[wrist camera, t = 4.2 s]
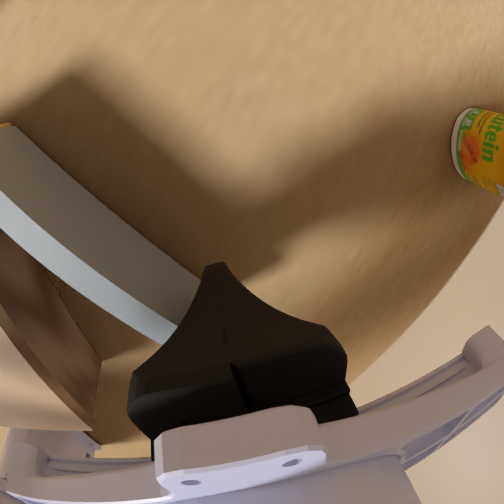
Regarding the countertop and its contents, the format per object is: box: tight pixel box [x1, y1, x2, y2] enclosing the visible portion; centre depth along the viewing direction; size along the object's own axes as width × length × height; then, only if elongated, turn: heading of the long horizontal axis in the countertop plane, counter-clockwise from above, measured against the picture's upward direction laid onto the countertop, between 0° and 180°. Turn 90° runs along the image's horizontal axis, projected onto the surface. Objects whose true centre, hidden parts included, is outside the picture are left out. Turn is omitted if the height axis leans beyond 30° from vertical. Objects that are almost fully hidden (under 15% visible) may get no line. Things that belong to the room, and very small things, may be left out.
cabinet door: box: [0, 123, 201, 345], centre depth 10 cm, size 15×1×5 cm, turn 43°
